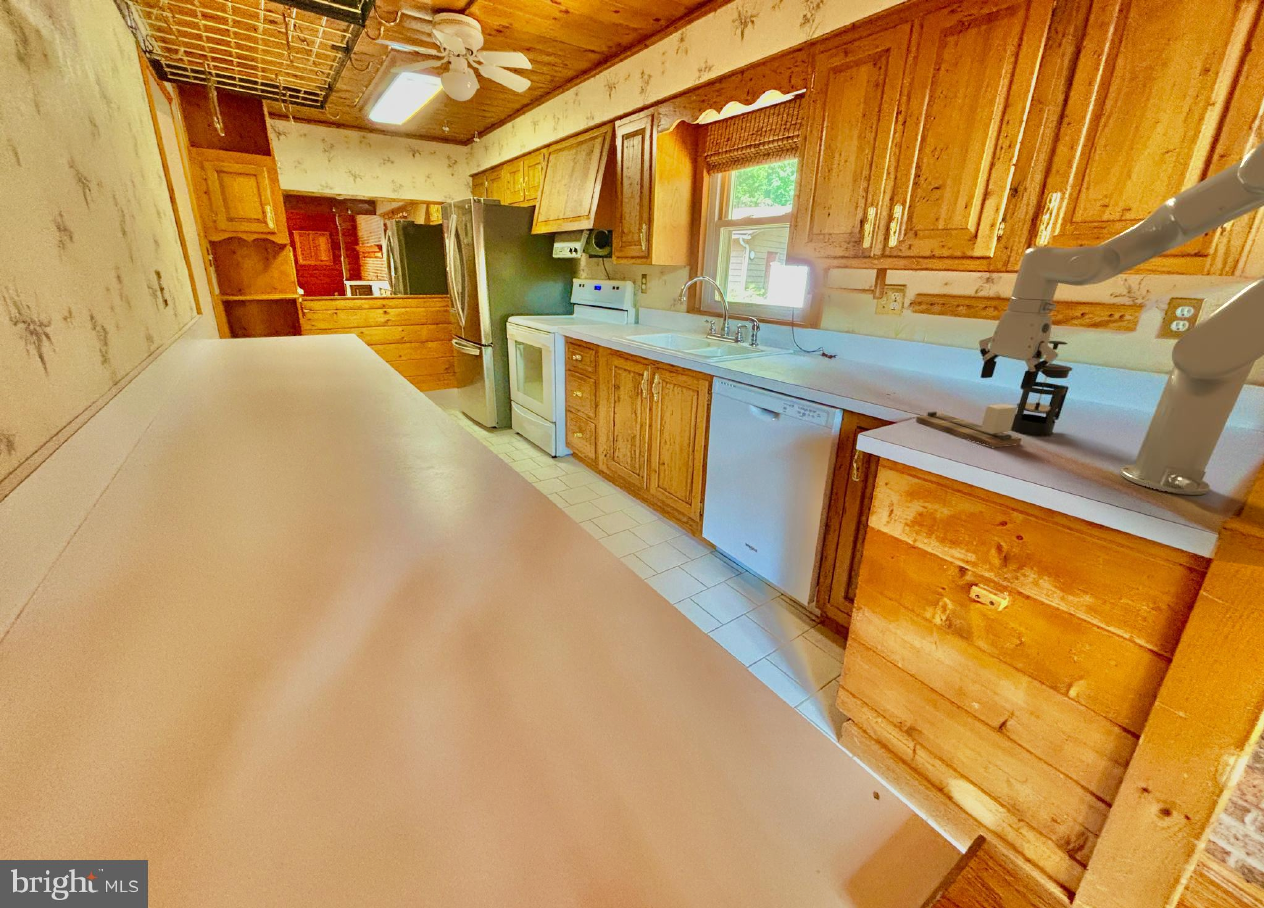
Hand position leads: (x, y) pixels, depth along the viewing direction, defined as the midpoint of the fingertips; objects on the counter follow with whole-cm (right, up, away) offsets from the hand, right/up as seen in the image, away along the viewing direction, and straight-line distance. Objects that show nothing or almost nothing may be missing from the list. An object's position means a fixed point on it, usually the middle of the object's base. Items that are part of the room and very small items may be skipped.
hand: (1005, 382), depth 118 cm
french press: (+16, -11, +13) cm, 23 cm away
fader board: (-2, -11, +11) cm, 16 cm away
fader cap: (0, -12, +4) cm, 13 cm away
